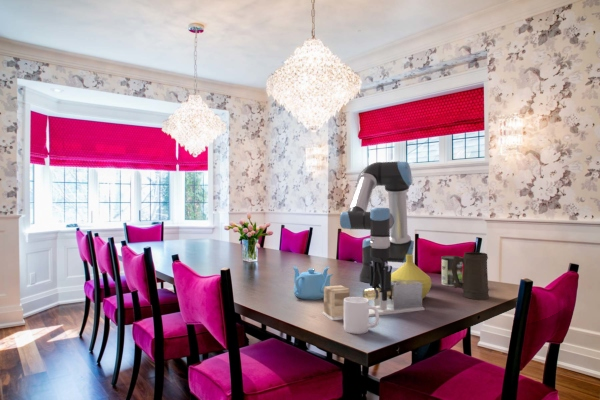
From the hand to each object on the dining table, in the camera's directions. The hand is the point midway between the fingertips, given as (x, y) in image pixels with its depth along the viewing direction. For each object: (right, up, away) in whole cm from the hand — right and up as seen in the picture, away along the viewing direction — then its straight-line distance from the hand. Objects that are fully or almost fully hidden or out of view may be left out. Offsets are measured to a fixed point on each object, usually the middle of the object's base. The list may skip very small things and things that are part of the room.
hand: (379, 307), depth 154 cm
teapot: (-25, -2, +25) cm, 35 cm away
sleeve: (+9, -2, +3) cm, 10 cm away
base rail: (-2, -2, -1) cm, 3 cm away
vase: (+17, -2, +20) cm, 26 cm away
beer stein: (+45, -2, +24) cm, 51 cm away
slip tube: (+3, +3, +1) cm, 5 cm away
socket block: (-17, -2, -6) cm, 18 cm away
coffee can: (+47, -2, +49) cm, 68 cm away
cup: (-11, -2, -23) cm, 26 cm away
